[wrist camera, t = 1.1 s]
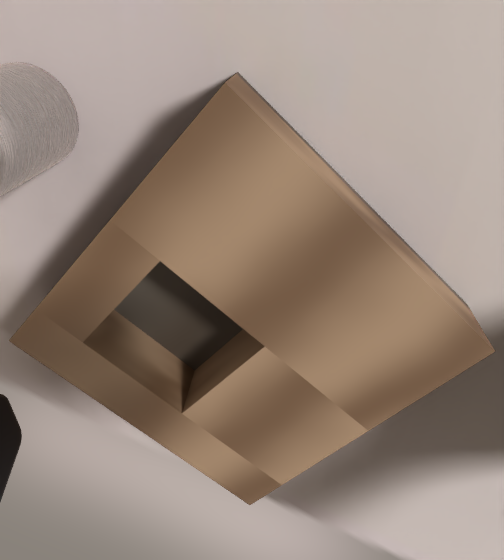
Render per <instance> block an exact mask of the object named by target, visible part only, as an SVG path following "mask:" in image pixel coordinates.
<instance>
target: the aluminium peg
mask: <svg viewBox="0 0 504 560" xmlns="http://www.w3.org/2000/svg"><path fill="white" fill-rule="evenodd" d="M78 131H79V123H78V116H77V112H76V108H75V106H74V103H73V101H72V99H71V97H70V95H69V94H68V92H67V91H66V89H65V88H64V87H63V86H62V84H61V83H60V82H59V81H58V80H57V79H56V78H55V77H53V76H52V75H51V74H50V73H48V72H46V71H45V70H43V69H41V68H39V67H37V66H34V65H31V64H27V63H20V62H15V63H7V64H0V197H1V196H2V195H4V194H6V193H8V192H9V191H11V190H13V189H14V188H16V187H18V186H20V185H21V184H23V183H25V182H26V181H28V180H30V179H32V178H33V177H35V176H37V175H38V174H40V173H42V172H44V171H45V170H47V169H49V168H50V167H52V166H54V165H56V164H57V163H59V162H61V161H62V160H64V159H65V158H66V157H67V156H68V155H69V154H70V153H71V152H72V150H73V148H74V146H75V144H76V141H77V138H78Z"/></svg>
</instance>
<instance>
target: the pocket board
mask: <svg viewBox="0 0 504 560" xmlns="http://www.w3.org/2000/svg"><path fill="white" fill-rule="evenodd" d="M9 341H10V342H11V343H13V344H14V345H16V346H17V347H19V348H20V349H21V350H23V351H24V352H26V353H27V354H29V355H30V356H32V357H33V358H35V359H36V360H38V361H39V362H41V363H42V364H43V365H45V366H46V367H48V368H49V369H51V370H52V371H54V372H55V373H57V374H58V375H60V376H61V377H63V378H64V379H65V380H67V381H68V382H70V383H71V384H73V385H74V386H76V387H77V388H79V389H80V390H82V391H83V392H85V393H86V394H87V395H89V396H90V397H92V398H93V399H95V400H96V401H98V402H99V403H101V404H102V405H104V406H105V407H107V408H108V409H109V410H111V411H112V412H114V413H115V414H117V415H118V416H120V417H121V418H123V419H124V420H126V421H127V422H129V423H130V424H131V425H133V426H134V427H136V428H137V429H139V430H140V431H142V432H143V433H145V434H146V435H148V436H149V437H151V438H152V439H153V440H155V441H156V442H158V443H159V444H161V445H162V446H164V447H165V448H167V449H168V450H170V451H171V452H173V453H174V454H175V455H177V456H178V457H180V458H181V459H183V460H184V461H186V462H187V463H189V464H190V465H192V466H193V467H195V468H196V469H198V470H199V471H200V472H202V473H203V474H205V475H206V476H208V477H209V478H211V479H212V480H214V481H215V482H217V483H218V484H220V485H221V486H222V487H224V488H225V489H227V490H228V491H230V492H231V493H233V494H234V495H236V496H237V497H239V498H240V499H242V500H243V501H244V502H246V503H247V504H249V505H251V504H252V503H254V502H256V501H257V500H259V499H260V498H262V497H264V496H265V495H267V494H268V493H270V492H272V491H273V490H275V489H276V488H278V487H280V486H281V485H283V484H284V483H286V482H288V481H289V480H291V479H292V478H294V477H296V476H297V475H299V474H300V473H302V472H304V471H305V470H307V469H308V468H310V467H312V466H313V465H315V464H316V463H318V462H320V461H321V460H323V459H324V458H326V457H328V456H329V455H331V454H332V453H334V452H336V451H337V450H339V449H340V448H342V447H344V446H345V445H347V444H348V443H350V442H352V441H353V440H355V439H356V438H358V437H360V436H361V435H363V434H364V433H366V432H368V431H369V430H371V429H372V428H374V427H376V426H377V425H379V424H380V423H382V422H383V421H385V420H387V419H388V418H390V417H391V416H393V415H395V414H396V413H398V412H399V411H401V410H403V409H404V408H406V407H407V406H409V405H411V404H412V403H414V402H415V401H417V400H419V399H420V398H422V397H423V396H425V395H427V394H428V393H430V392H431V391H433V390H435V389H436V388H438V387H439V386H441V385H443V384H444V383H446V382H447V381H449V380H451V379H452V378H454V377H455V376H457V375H459V374H460V373H462V372H463V371H465V370H467V369H468V368H470V367H471V366H473V365H475V364H476V363H478V362H479V361H481V360H483V359H484V358H486V357H487V356H489V355H491V354H492V353H494V352H495V350H494V348H493V347H492V345H491V343H490V342H489V340H488V338H487V337H486V335H485V333H484V332H483V330H482V328H481V327H480V325H479V323H478V322H477V320H476V318H475V317H474V315H473V313H472V312H471V310H470V308H469V307H468V305H467V304H466V303H465V302H464V301H463V300H462V299H461V298H460V297H459V296H458V295H457V294H456V293H455V292H454V291H453V290H452V289H451V288H450V287H449V286H448V285H447V284H446V282H445V281H444V280H443V279H442V278H441V277H440V276H439V275H438V274H437V273H436V272H435V271H434V270H433V269H432V268H431V267H430V266H429V265H428V264H427V263H426V262H425V261H424V260H423V259H422V258H421V257H420V256H419V255H418V254H417V253H416V252H415V251H414V250H413V249H412V248H411V247H410V246H409V245H408V244H407V243H406V242H405V241H404V240H403V239H402V238H401V237H400V236H399V235H398V234H397V233H396V232H395V231H394V230H393V229H392V228H391V227H390V226H389V225H388V224H387V223H386V222H385V221H384V220H383V219H382V218H381V217H380V216H379V215H378V214H377V213H376V212H375V211H374V210H373V209H372V208H371V207H370V206H369V205H368V203H367V202H366V201H365V200H364V199H363V198H362V197H361V196H360V195H359V194H358V193H357V192H356V191H355V190H354V189H353V188H352V187H351V186H350V185H349V184H348V183H347V182H346V181H345V180H344V179H343V178H342V177H341V176H340V175H339V174H338V173H337V172H336V171H335V170H334V169H333V168H332V167H331V166H330V165H329V164H328V163H327V162H326V161H325V160H324V159H323V158H322V157H321V156H320V155H319V154H318V153H317V152H316V151H315V150H314V149H313V148H312V147H311V146H310V145H309V144H308V143H307V142H306V141H305V140H304V139H303V138H302V137H301V136H300V135H299V134H298V133H297V132H296V131H295V130H294V129H293V128H292V127H291V126H290V124H289V123H288V122H287V121H286V120H285V119H284V118H283V117H282V116H281V115H280V114H279V113H278V112H277V111H276V110H275V109H274V108H273V107H272V106H271V105H270V104H269V103H268V102H267V101H266V100H265V99H264V98H263V97H262V96H261V95H260V94H259V93H258V92H257V91H256V90H255V89H254V88H253V87H252V86H251V85H250V84H249V83H248V82H247V81H246V80H245V79H244V78H243V77H242V76H241V75H240V74H239V73H238V72H237V73H236V74H235V75H234V76H232V77H231V78H230V79H229V80H227V81H226V82H225V83H224V84H223V85H222V87H221V88H220V89H219V90H218V91H217V93H216V94H215V95H214V96H213V97H212V99H211V100H210V101H209V102H208V103H207V105H206V106H205V107H204V108H203V109H202V111H201V112H200V113H199V114H198V115H197V116H196V118H195V119H194V120H193V121H192V122H191V124H190V125H189V126H188V127H187V128H186V130H185V131H184V132H183V133H182V134H181V136H180V137H179V138H178V139H177V140H176V142H175V143H174V144H173V145H172V146H171V148H170V149H169V150H168V151H167V152H166V154H165V155H164V156H163V157H162V158H161V160H160V161H159V162H158V163H157V164H156V165H155V167H154V168H153V169H152V170H151V171H150V173H149V174H148V175H147V176H146V177H145V179H144V180H143V181H142V182H141V183H140V185H139V186H138V187H137V188H136V189H135V191H134V192H133V193H132V194H131V195H130V197H129V198H128V199H127V200H126V201H125V203H124V204H123V205H122V206H121V207H120V209H119V210H118V211H117V212H116V213H115V214H114V216H113V217H112V218H111V219H110V220H109V222H108V223H107V224H106V225H105V226H104V228H103V229H102V230H101V231H100V232H99V234H98V235H97V236H96V237H95V238H94V240H93V241H92V242H91V243H90V244H89V246H88V247H87V248H86V249H85V250H84V252H83V253H82V254H81V255H80V256H79V258H78V259H77V260H76V261H75V262H74V264H73V265H72V266H71V267H70V268H69V269H68V271H67V272H66V273H65V274H64V275H63V277H62V278H61V279H60V280H59V281H58V283H57V284H56V285H55V286H54V287H53V289H52V290H51V291H50V292H49V293H48V295H47V296H46V297H45V298H44V299H43V301H42V302H41V303H40V304H39V305H38V307H37V308H36V309H35V310H34V311H33V313H32V314H31V315H30V316H29V317H28V318H27V320H26V321H25V322H24V323H23V324H22V326H21V327H20V328H19V329H18V330H17V332H16V333H15V334H14V335H13V336H12V338H11V339H10V340H9Z"/></svg>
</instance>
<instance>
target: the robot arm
mask: <svg viewBox="0 0 504 560" xmlns="http://www.w3.org/2000/svg"><path fill="white" fill-rule="evenodd" d="M21 437H22V435H21V429H20V426H19V424H18V421H17V419H16V417H15V414H14V412H13V410H12V407H11V405H10V403H9V401H8V399H7V397H5V396H4V395H2V394H0V501H1V499H2V496H3V493H4V490H5V487H6V484H7V481H8V478H9V476H10V473H11V470H12V467H13V464H14V462H15V459H16V455H17V453H18V450H19V447H20V444H21Z"/></svg>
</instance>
